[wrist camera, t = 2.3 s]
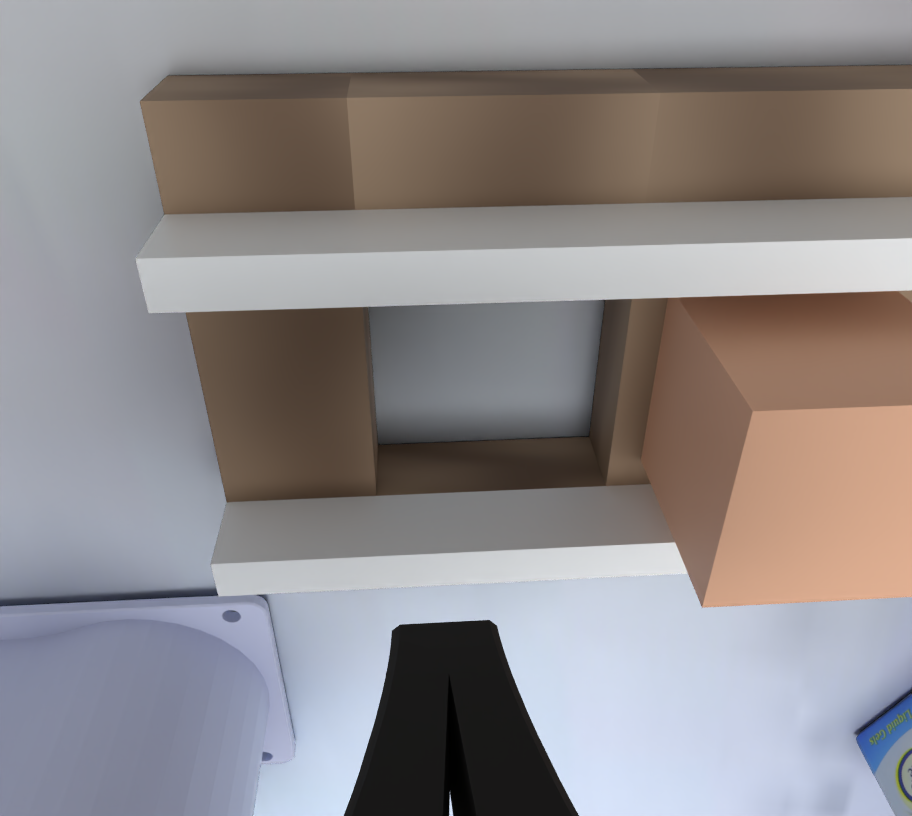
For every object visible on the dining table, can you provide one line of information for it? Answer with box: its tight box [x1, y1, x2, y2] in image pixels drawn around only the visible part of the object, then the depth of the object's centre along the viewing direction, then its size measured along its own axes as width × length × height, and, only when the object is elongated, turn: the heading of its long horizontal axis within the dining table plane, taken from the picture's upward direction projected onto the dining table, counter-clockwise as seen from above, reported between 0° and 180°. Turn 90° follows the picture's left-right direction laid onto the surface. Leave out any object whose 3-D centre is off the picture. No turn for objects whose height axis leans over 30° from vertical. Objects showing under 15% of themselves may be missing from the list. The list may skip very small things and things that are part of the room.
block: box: [641, 291, 912, 608], centre depth 16 cm, size 4×4×4 cm
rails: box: [135, 197, 912, 597], centre depth 16 cm, size 18×8×2 cm, turn 90°
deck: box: [140, 65, 912, 502], centre depth 18 cm, size 25×12×2 cm, turn 90°
